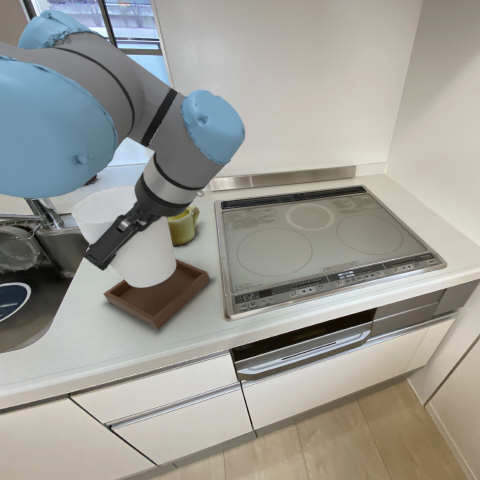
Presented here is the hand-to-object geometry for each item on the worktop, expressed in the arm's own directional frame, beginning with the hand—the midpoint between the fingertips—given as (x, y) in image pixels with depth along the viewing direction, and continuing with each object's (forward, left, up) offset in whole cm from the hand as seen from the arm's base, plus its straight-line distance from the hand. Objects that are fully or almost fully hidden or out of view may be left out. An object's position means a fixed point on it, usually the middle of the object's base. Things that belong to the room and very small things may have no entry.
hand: (128, 241), depth 51 cm
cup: (+2, 0, -8) cm, 8 cm away
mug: (-10, +18, -14) cm, 25 cm away
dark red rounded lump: (-65, +24, -14) cm, 71 cm away
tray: (+2, 0, -14) cm, 14 cm away
